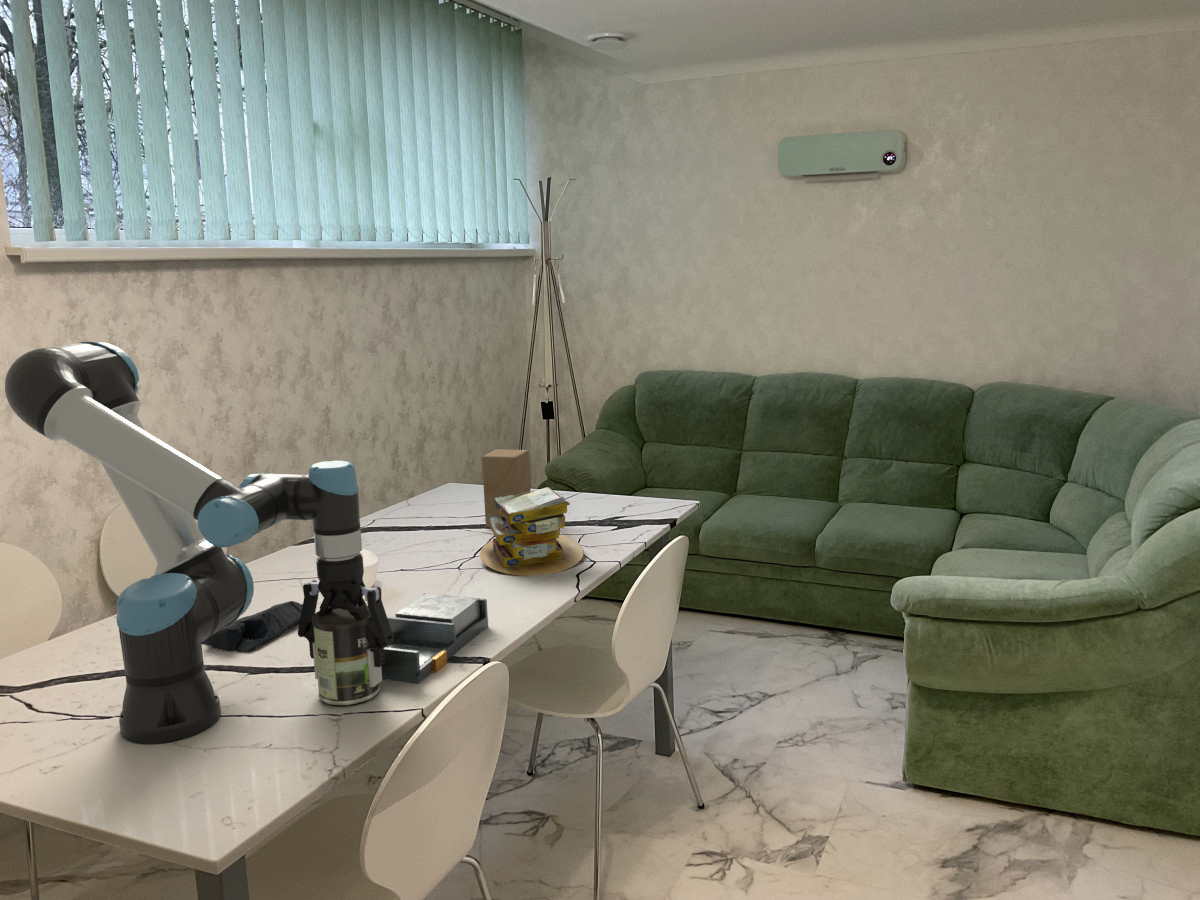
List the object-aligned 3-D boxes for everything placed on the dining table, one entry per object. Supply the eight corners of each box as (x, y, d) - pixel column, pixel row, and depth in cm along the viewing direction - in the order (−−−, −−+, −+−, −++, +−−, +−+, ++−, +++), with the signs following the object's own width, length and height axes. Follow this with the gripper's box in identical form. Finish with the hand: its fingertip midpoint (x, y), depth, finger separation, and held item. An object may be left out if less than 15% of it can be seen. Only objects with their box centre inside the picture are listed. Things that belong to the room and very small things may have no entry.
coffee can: (389, 681, 175) (384, 605, 172) (364, 707, 165) (358, 627, 162) (335, 677, 177) (329, 602, 174) (307, 703, 167) (300, 623, 165)
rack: (422, 683, 175) (419, 650, 173) (349, 674, 179) (346, 642, 178) (491, 626, 200) (489, 596, 199) (426, 619, 205) (424, 591, 204)
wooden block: (485, 527, 273) (481, 456, 269) (499, 518, 283) (495, 448, 279) (519, 529, 270) (515, 457, 266) (532, 519, 280) (529, 449, 276)
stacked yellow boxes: (591, 570, 234) (588, 501, 230) (484, 580, 229) (480, 509, 226) (574, 541, 257) (571, 478, 254) (477, 549, 253) (473, 485, 250)
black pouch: (327, 619, 209) (325, 597, 208) (244, 658, 190) (241, 634, 189) (274, 609, 216) (272, 588, 215) (189, 645, 197) (186, 622, 196)
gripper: (410, 553, 166) (418, 678, 171) (295, 543, 174) (305, 663, 178) (386, 566, 159) (395, 697, 164) (268, 555, 167) (279, 680, 171)
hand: (348, 679), depth 171 cm, fingers closed on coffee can, 10 cm apart
